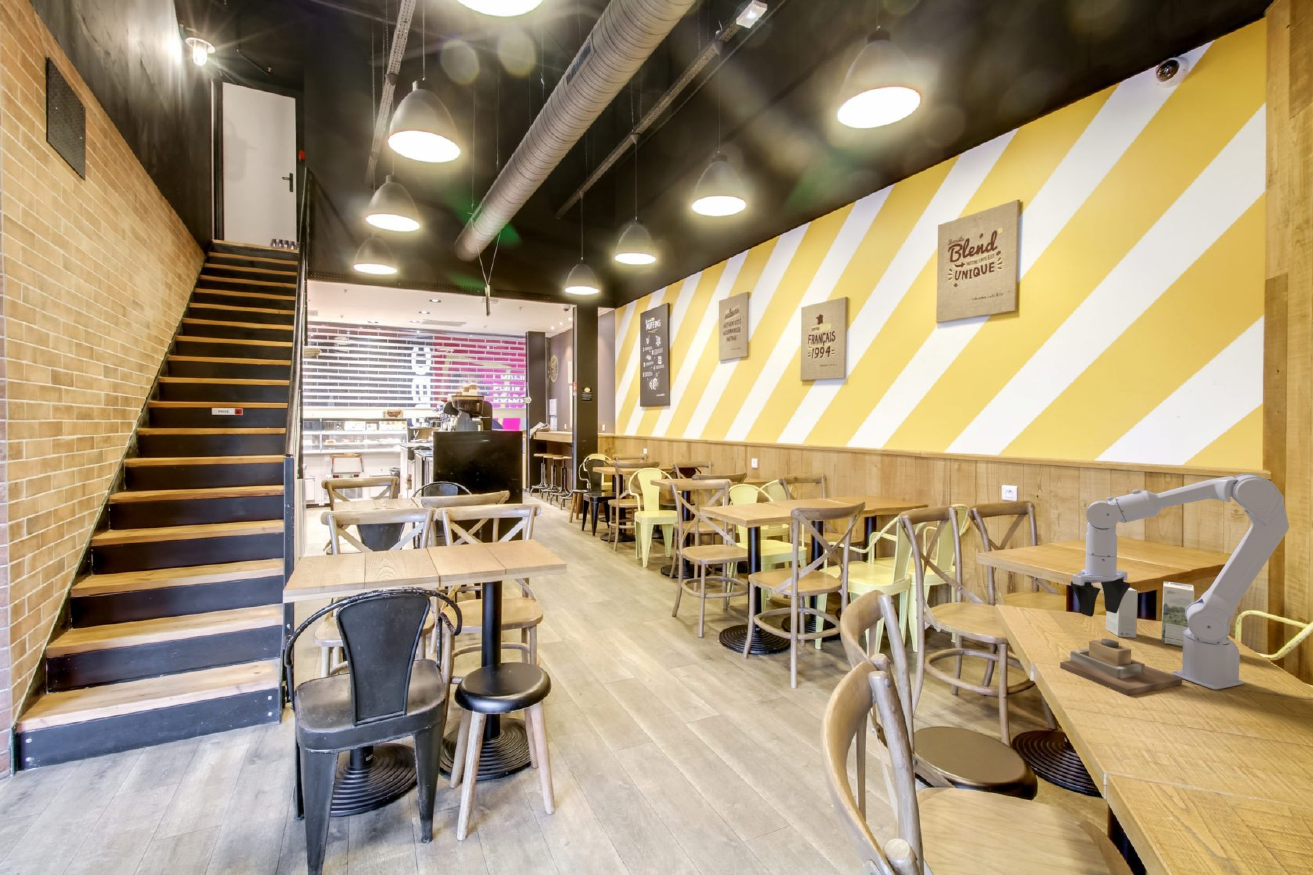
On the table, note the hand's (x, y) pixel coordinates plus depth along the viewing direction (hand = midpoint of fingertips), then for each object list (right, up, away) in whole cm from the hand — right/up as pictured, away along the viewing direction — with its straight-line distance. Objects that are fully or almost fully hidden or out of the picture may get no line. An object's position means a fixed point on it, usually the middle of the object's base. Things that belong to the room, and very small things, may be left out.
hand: (1099, 613), depth 137 cm
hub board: (-2, -11, -9) cm, 14 cm away
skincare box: (+18, -10, +17) cm, 26 cm away
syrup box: (+26, -10, +10) cm, 30 cm away
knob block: (-4, -9, -8) cm, 13 cm away
